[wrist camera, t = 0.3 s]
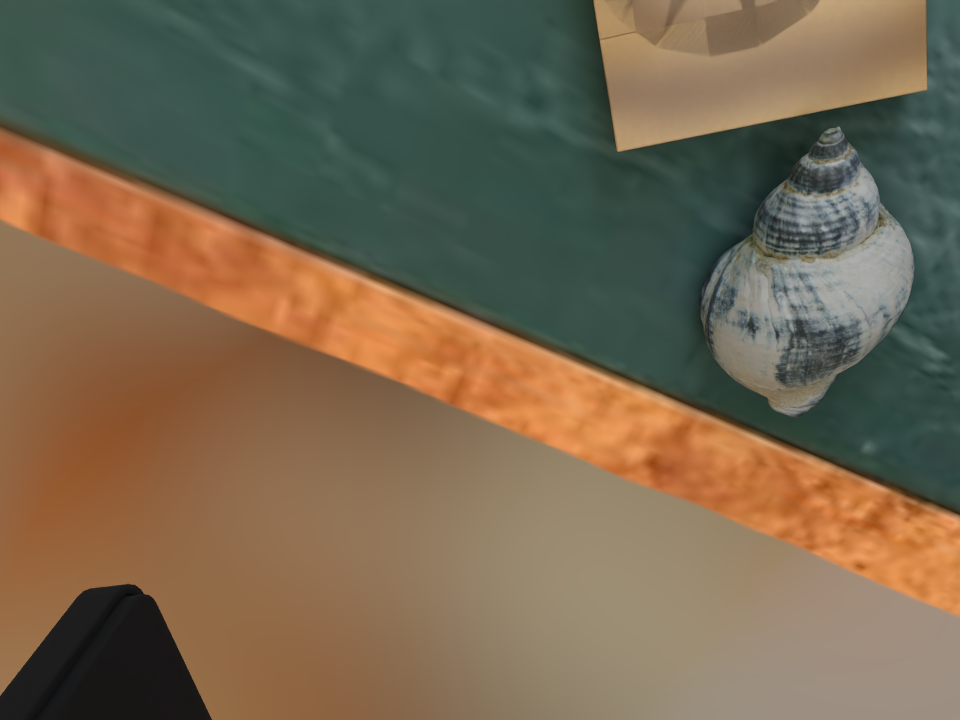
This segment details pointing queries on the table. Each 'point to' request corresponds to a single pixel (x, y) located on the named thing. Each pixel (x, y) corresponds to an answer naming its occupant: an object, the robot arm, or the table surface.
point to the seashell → (808, 281)
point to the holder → (751, 61)
